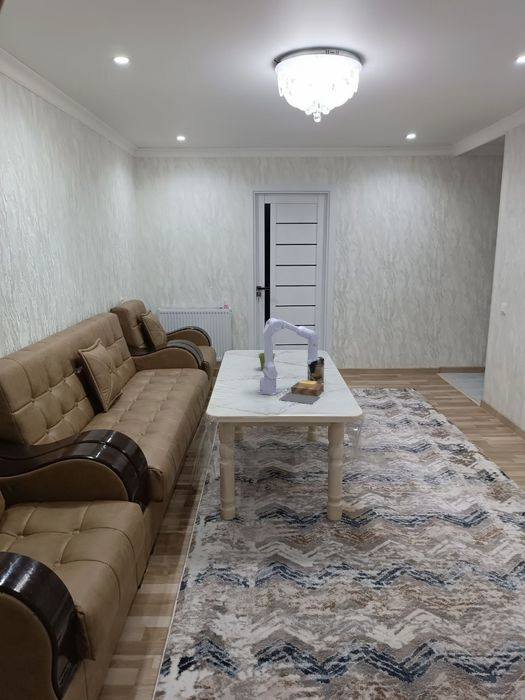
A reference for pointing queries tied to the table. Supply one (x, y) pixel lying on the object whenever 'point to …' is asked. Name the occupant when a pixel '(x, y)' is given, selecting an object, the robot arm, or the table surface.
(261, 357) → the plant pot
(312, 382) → the tile
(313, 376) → the coffee box
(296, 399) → the mat
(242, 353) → the table surface
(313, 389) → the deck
